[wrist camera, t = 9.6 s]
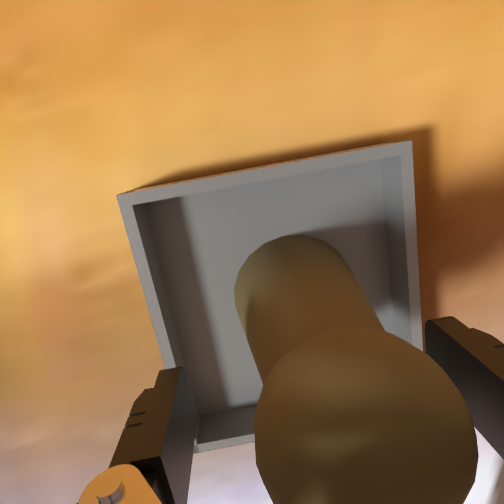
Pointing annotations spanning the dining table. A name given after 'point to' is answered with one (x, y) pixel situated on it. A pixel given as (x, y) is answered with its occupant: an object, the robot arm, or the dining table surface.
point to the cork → (345, 390)
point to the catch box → (250, 239)
